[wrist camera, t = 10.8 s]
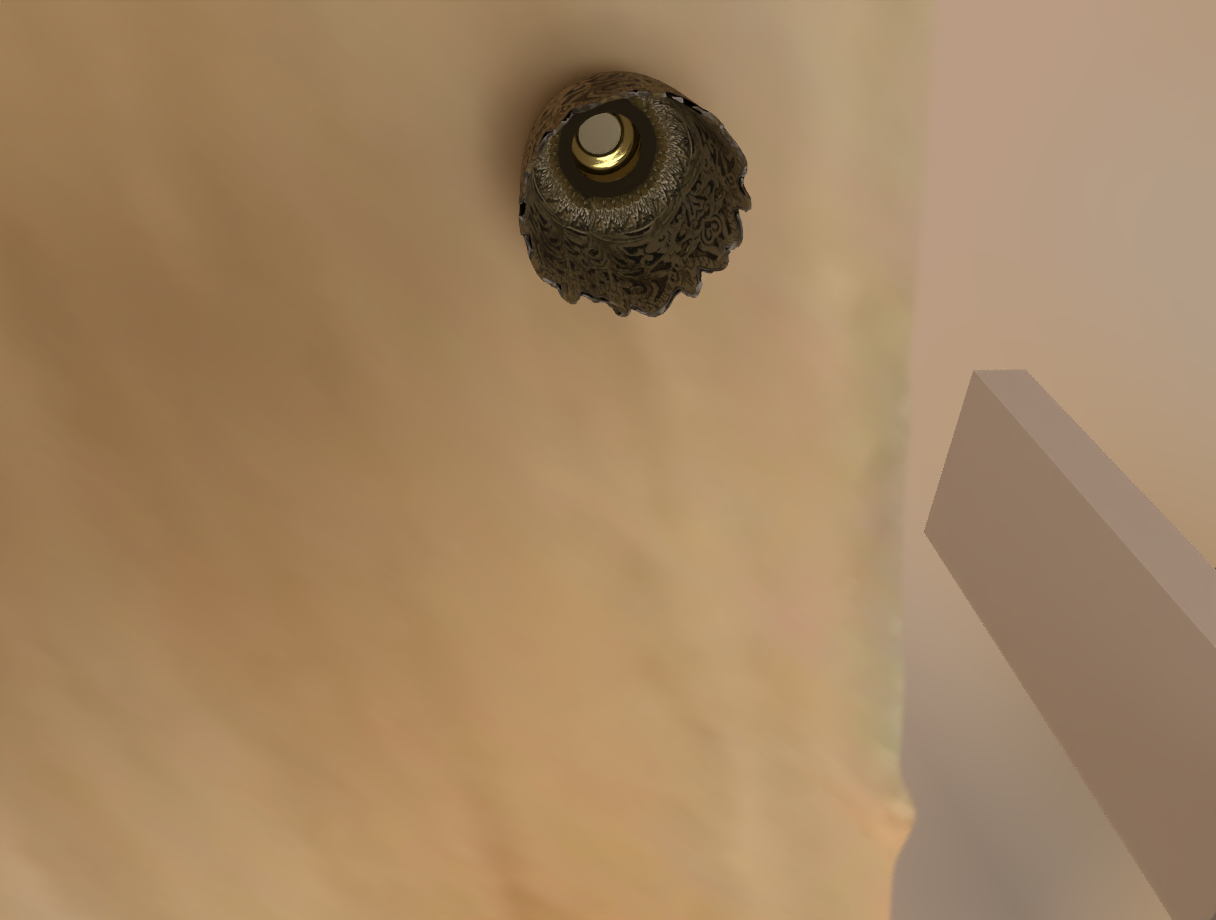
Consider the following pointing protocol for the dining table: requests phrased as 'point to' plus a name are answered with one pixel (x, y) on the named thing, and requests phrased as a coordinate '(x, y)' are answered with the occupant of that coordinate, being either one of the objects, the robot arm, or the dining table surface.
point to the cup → (630, 195)
